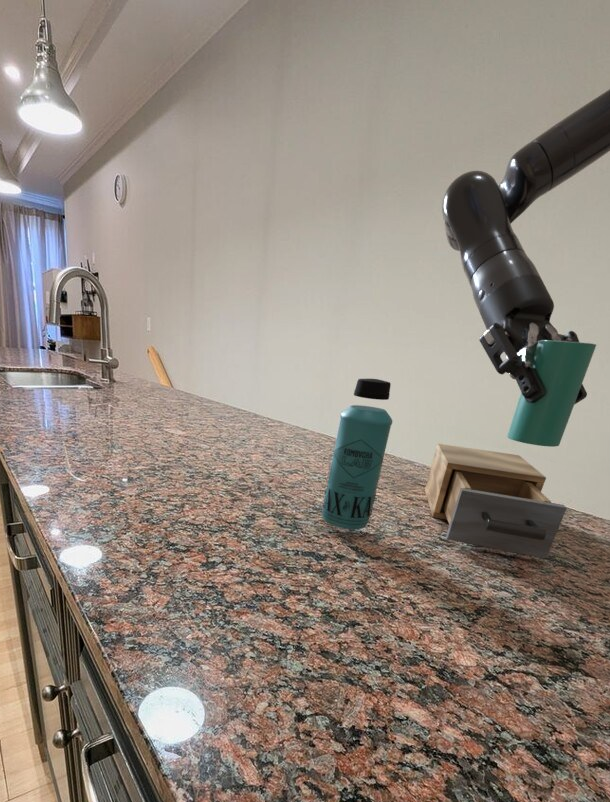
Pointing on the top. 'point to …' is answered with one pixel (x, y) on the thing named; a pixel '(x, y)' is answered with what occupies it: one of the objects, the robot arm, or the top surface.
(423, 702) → the top surface
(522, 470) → the cabinet
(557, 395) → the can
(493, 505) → the drawer
